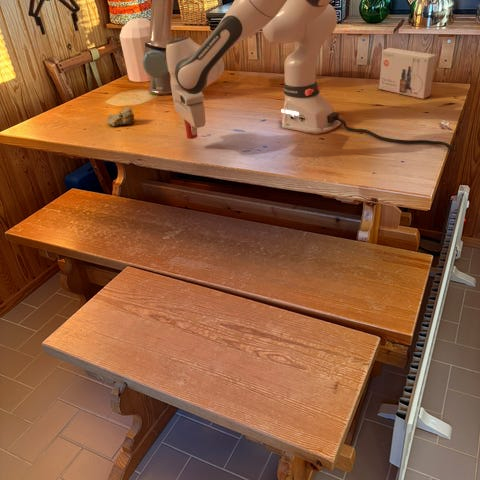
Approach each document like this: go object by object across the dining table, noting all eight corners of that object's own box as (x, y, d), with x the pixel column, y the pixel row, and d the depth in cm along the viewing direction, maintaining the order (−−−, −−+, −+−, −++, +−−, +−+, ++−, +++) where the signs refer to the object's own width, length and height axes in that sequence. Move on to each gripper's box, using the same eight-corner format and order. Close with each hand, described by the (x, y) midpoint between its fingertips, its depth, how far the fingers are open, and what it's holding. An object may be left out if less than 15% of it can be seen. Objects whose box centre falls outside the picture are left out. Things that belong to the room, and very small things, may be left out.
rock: (108, 124, 190) (108, 128, 182) (105, 108, 188) (104, 111, 179) (134, 120, 192) (135, 124, 184) (131, 104, 190) (132, 107, 181)
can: (186, 135, 159) (184, 122, 157) (196, 134, 160) (194, 121, 157) (187, 139, 156) (185, 126, 154) (198, 137, 157) (196, 124, 154)
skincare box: (377, 89, 194) (381, 50, 185) (385, 86, 197) (389, 47, 188) (423, 99, 180) (429, 56, 171) (430, 95, 183) (437, 53, 174)
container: (160, 81, 233) (149, 21, 217) (121, 82, 238) (108, 23, 222) (174, 69, 249) (165, 13, 233) (138, 70, 254) (126, 15, 238)
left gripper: (8, -23, 175) (27, 37, 187) (74, -30, 176) (89, 30, 188) (13, -24, 181) (32, 34, 193) (77, -31, 182) (92, 27, 194)
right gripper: (166, 85, 156) (172, 125, 164) (187, 101, 141) (193, 144, 148) (183, 82, 158) (189, 120, 166) (206, 97, 143) (211, 139, 150)
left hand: (60, 32), depth 191 cm, fingers open, 13 cm apart
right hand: (191, 132), depth 157 cm, fingers closed on can, 3 cm apart
